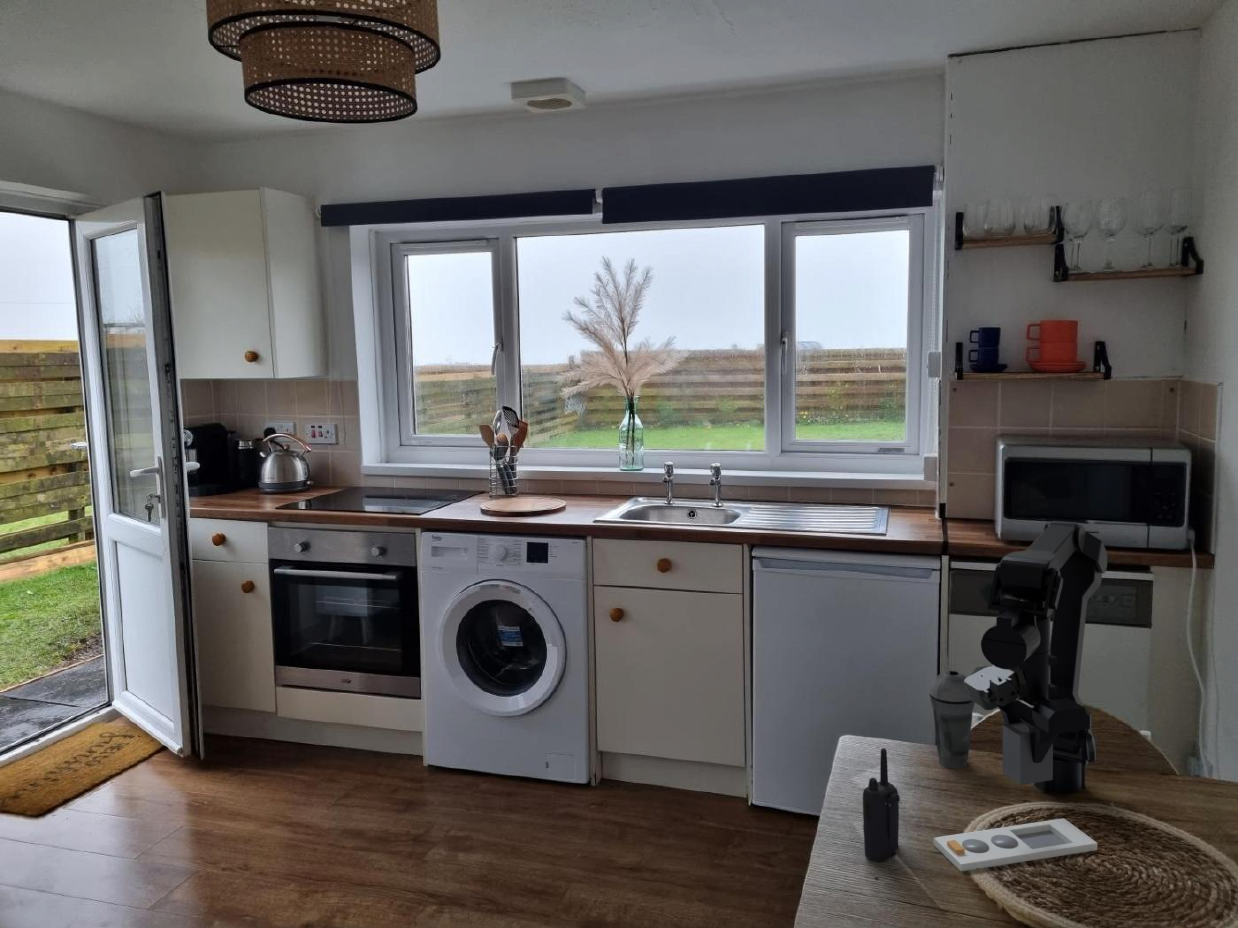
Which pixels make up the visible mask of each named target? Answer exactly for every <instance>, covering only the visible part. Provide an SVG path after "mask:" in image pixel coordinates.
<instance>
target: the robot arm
mask: <svg viewBox="0 0 1238 928" xmlns="http://www.w3.org/2000/svg"><path fill="white" fill-rule="evenodd" d="M1107 553H1108V552H1107V550H1106V547H1105V545H1104V543H1103V541H1102V540H1101V539H1099V538H1098V537H1096V536H1094V535H1092V533H1090V532H1088V531H1086V529H1085V526H1084V525H1083V524H1079V523H1078V522H1072V521H1071V522H1070V521H1059V520H1058V521H1057V520H1052V521H1050V522H1049V521H1048V522H1046V523H1045V525H1044V527H1043V531H1042V532H1041V533H1040V535H1039V536H1038V537H1036V539H1035V540H1034V541H1033V542H1032V544H1030V546H1029V547H1028V548H1027V549H1025V550H1021V551H1020V550H1019V551H1013V552H1010V553H1008V554H1006V555H1004V556H1003V557H1002V558H1001V560H1000V562H998V563H997V564H996V566H995V569H994V570H995V571H994V574H993V579H992V582H991V583H992V584H991V588H990V593H989V599H988V602H987V610H988V611H995V612H998V615H997V616H996V620H995V621H996V623H995V624H994V625H992V626H991V627H989V628H988V629H987V630H986V631H985V632H984V633H983V635H982V637H981V640H980V648H981V652H982V654H983V656H984V658H985V659H986V661H987V662H989V663H990V664H991V665H985V666H978V667H975V668H974V670H973V671H972V673H971V674H970V675H969V676H966V677H967V678H965V680H964V682H965V685H966V688H967V690H968V693H969V696H970V699H971V701H972V702H974V704H977V705H978V706H980V707H981V708H982V709H983V710H985V711H992V710H994V709H998V710H999V711H1000V713H1001V716H1002V718H1003V719H1002V720H1003V722H1004V725H1005V724H1012V723H1019V722H1024V723H1025V724H1026V725H1027V726H1028V727H1029V732H1030V743H1031V753H1032V758H1033V762H1034V763H1041V762H1042V761H1043V759H1044V757H1045V755H1046V754H1047V752H1048V750H1049V749H1050V747H1051V745H1052V744H1053V780H1049V781H1043V782H1036V783H1033V786H1034V787H1036V788H1037V789H1038V790H1040V791H1041V792H1043V793H1046V794H1047V793H1048V794H1053V793H1054V794H1060V795H1075V794H1078V793H1080V792H1081V790H1082V789H1085V788H1086V766H1087V765H1088V763H1094V762H1096V759H1097V750H1096V740H1095V737H1094V734H1093V732H1092V729H1091V727H1092V713H1091V712H1090V711H1089V710H1088V709H1087V708H1086V707H1085V706H1084V704H1083V702H1082V700H1081V698H1080V697H1079V687H1080V685H1079V684H1080V675H1081V667H1082V655H1083V648H1084V647H1083V646H1084V638H1085V629H1086V627H1085V626H1086V617H1087V608H1088V607H1087V606H1088V600H1089V599H1090V598H1091V597H1092V596H1093V595H1094V594H1095V593H1096V591H1097V590H1098V589H1099V587H1101V584H1102V576H1103V575H1104V574H1106V571H1107V568H1108V554H1107ZM1001 596H1002V597H1003V598H1002V597H1001ZM1009 598H1011V599H1009ZM1052 614H1053V615H1052ZM1051 616H1053V617H1052V626H1051Z"/></svg>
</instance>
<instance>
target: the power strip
mask: <svg viewBox="0 0 1238 928" xmlns="http://www.w3.org/2000/svg"><path fill="white" fill-rule="evenodd" d="M933 845H934V846H935V847H936V849H937V850H939V851H940V852H941V853H942V854H943V855H944V856H945V858H947V859H948V860H949V861H950V863H952V864H953V865H954V867H956V868H957V869H958V870H959V872H966V871H973V870H977V869H976V868H979V869H985V868H991V867H997V866H1005V865H1010V864H1017V863H1023V862H1028V861H1036V860H1041V859H1048V858H1055V857H1061V856H1068V855H1075V854H1079V853H1087V852H1093V851H1098V842H1097V841H1095V839H1092V837H1090V836H1088V835H1087V834H1086V833H1085V832H1083V831H1082V830H1080V829H1079V828H1078V827H1077V826H1076V825H1074V824H1072V823H1071V822H1069V820H1067V819H1066V818H1064V817H1063V818H1056V819H1049V820H1044V821H1035V822H1030V823H1022V824H1016V825H1010V826H1003V827H997V828H996V827H995V828H990V829H984V830H976V831H969V832H961V833H957V834H956V833H955V834H949V835H941V836H938V837H937V836H936V837H933Z"/></svg>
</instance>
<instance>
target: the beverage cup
mask: <svg viewBox="0 0 1238 928" xmlns="http://www.w3.org/2000/svg"><path fill="white" fill-rule="evenodd" d="M942 649H943V650H942V651H943V657H944V663H945V664H944V666H945V671H943V672H940V674H938V675H937V676H936V677H935V678H934V679H933V681H932V683H931V686H930V687H931V688H930V692H929V697H930V703H931V706H932V707H931V708H932V709H933V719H934V721H933V722H934V730H935V739H936V740H935V741H936V753H937V757H938V762H939V764H940V765H942V766H944V767H947V768H951V769H952V768H953V769H961V768H965V767H967V765H968V759H969V754H970V744H971V743H970V741H971V733H972V732H971V731H972V730H971V729H972V720H973V711H974V707H975V703H974V702H972V701H971V699H970V696H969V693H968V690H967V688H966V685H965V682H964V680H965V678H967V677H968V676H966V675H965V674H963V673H961V672H958V671H956V670H951V669H950V666H949V665H950V664H949V658H948V657H949V656H948V649H947V646H946V645H943V646H942Z"/></svg>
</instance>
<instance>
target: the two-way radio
mask: <svg viewBox="0 0 1238 928" xmlns="http://www.w3.org/2000/svg"><path fill="white" fill-rule="evenodd" d="M879 765H880V766H879V767H880V773H879V774H880V775H879V777H880V780H879V781H877V780H878V779H877V778H875V777H871V778H869V781H868V786H867V787H865V788H864V789H863V792H862V817H863V819H862V820H863V827H862V829H863V841H864V856H865V857H866V858H868V860H871V861H874V862H875V861H876V862H882V861H886V860H889V859H891V858H892V857H894V856H896V855H897V853H896V851H897V850H898V849H899V828H900V827H899V824H900V823H899V820H900V819H899V818H900V817H899V816H900V815H899V814H900V808H899V807H900V806H899V805H900V804H899V803H900V800H901V796H900V795H899V793H898V789H897V787H896V786H895V785H894V784H892V783H890V782H889V774H888V769H889V768H888V754H887V749H886V748H884V747H883V748H881V749H880V763H879Z"/></svg>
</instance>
